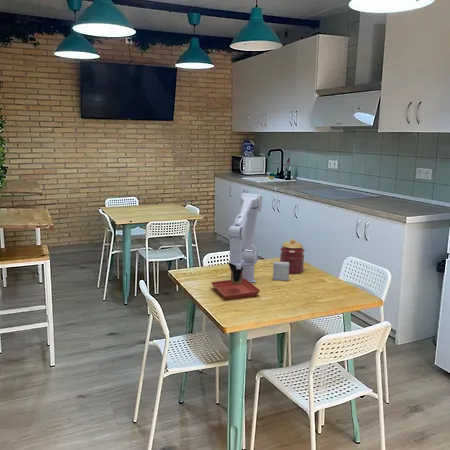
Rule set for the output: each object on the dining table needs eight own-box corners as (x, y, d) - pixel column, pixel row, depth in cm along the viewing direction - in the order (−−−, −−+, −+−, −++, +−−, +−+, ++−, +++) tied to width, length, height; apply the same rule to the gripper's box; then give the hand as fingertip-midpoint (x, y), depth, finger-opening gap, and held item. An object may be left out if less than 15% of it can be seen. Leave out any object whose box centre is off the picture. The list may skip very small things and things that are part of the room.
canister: (277, 272, 242) (278, 240, 238) (281, 265, 254) (283, 235, 250) (301, 275, 238) (303, 242, 235) (304, 268, 250) (306, 237, 247)
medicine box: (288, 278, 233) (289, 262, 231) (288, 280, 229) (289, 264, 227) (273, 277, 234) (273, 261, 232) (273, 280, 229) (273, 263, 228)
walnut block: (230, 281, 212) (231, 269, 211) (240, 281, 213) (240, 269, 212) (232, 285, 208) (232, 272, 207) (242, 284, 209) (242, 272, 208)
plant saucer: (260, 297, 207) (261, 290, 206) (224, 302, 200) (224, 295, 199) (244, 284, 223) (244, 278, 222) (210, 288, 216) (210, 282, 216)
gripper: (248, 255, 201) (247, 284, 204) (241, 247, 215) (240, 274, 218) (232, 255, 200) (231, 285, 203) (226, 247, 214) (226, 274, 217)
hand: (235, 279), depth 210 cm, fingers closed on walnut block, 4 cm apart
